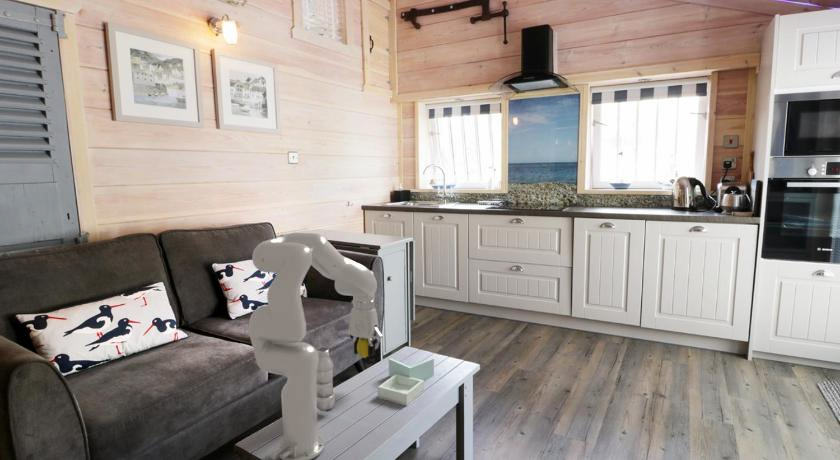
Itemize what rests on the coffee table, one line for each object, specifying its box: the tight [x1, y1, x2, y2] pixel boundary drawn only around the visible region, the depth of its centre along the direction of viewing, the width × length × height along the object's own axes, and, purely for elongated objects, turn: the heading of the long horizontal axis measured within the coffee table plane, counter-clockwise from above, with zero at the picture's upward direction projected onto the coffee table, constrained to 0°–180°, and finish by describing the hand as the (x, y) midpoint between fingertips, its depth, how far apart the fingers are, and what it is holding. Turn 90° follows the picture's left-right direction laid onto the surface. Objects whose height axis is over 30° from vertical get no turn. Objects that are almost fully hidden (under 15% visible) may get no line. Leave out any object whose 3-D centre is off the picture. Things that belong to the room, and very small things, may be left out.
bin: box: [377, 374, 425, 407], centre depth 157 cm, size 12×12×4 cm
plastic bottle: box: [316, 347, 336, 411], centre depth 147 cm, size 6×7×20 cm
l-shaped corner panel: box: [388, 357, 435, 381], centre depth 170 cm, size 12×12×8 cm
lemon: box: [357, 338, 370, 359], centre depth 162 cm, size 6×6×8 cm
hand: (364, 353), depth 162 cm, fingers closed on lemon, 5 cm apart
